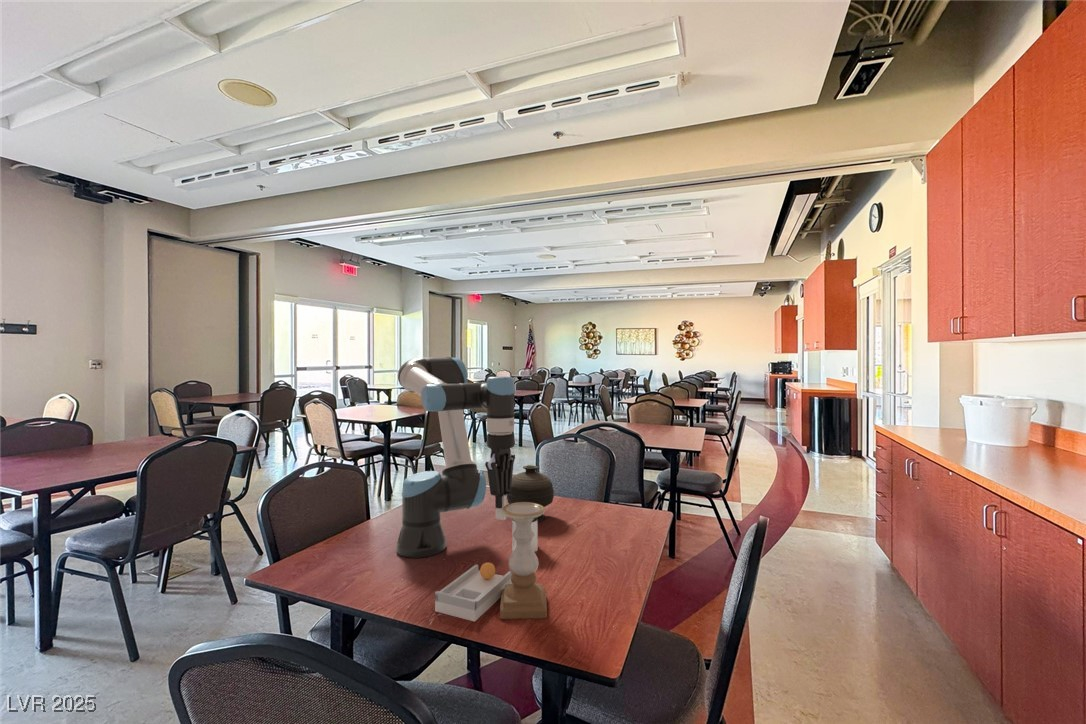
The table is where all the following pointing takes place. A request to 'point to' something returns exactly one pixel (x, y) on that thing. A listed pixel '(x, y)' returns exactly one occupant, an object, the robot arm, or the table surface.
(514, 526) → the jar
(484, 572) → the ball
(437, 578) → the table surface
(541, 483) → the pot
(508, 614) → the candle holder
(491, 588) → the tray
